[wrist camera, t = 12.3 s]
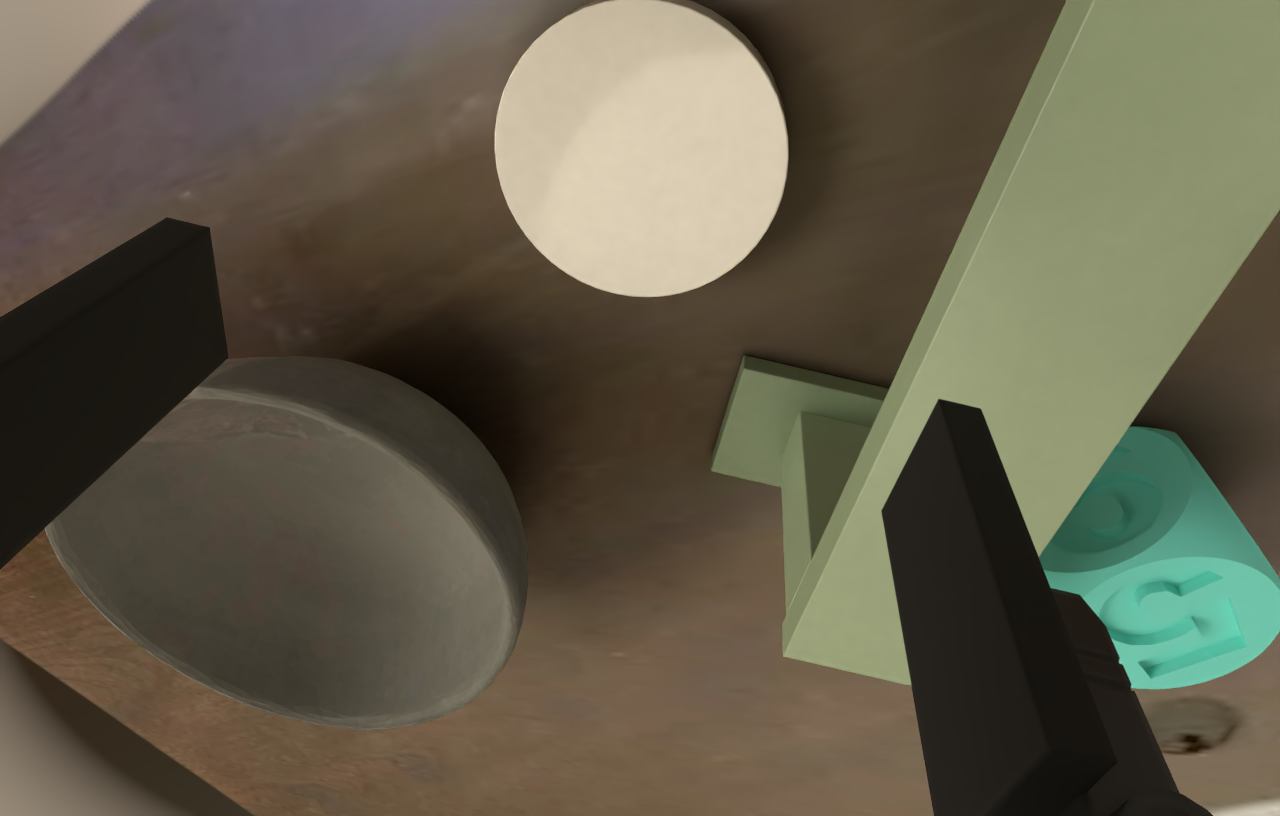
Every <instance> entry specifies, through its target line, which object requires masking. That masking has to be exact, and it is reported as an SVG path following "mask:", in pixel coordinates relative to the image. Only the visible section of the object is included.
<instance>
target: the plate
mask: <svg viewBox="0 0 1280 816" xmlns="http://www.w3.org/2000/svg"><path fill="white" fill-rule="evenodd" d="M495 157H496V166H497V172H498V176H499V180H500V184H501V188H502V191H503V193H504V196H505V199H506V201H507V204H508V206H509V208H510V210H511V212H512V214H513V216H514V218H515V220H516V222H517V223H518V225H519V226H520V228H521V229H522V231H523V232H524V233H525V235H526V236H527V238H528V239H529V240H530V241H531V242H532V243H533V245H534V246H535V247H536V248H537V249H538V250H539V251H540V252H541V253H542V254H543V255H544V256H545V257H546V258H547V259H548V260H549V261H550V262H552V263H553V264H554V265H556V266H557V267H558V268H560V269H561V270H562V271H564V272H565V273H567V274H568V275H570V276H572V277H574V278H576V279H577V280H579V281H581V282H583V283H585V284H588V285H590V286H593V287H595V288H597V289H601V290H604V291H607V292H611V293H614V294H620V295H626V296H634V297H658V296H668V295H673V294H678V293H683V292H686V291H689V290H692V289H695V288H698V287H701V286H703V285H705V284H707V283H709V282H712V281H714V280H716V279H717V278H719V277H720V276H722V275H724V274H725V273H727V272H728V271H730V270H731V269H732V268H734V267H735V266H736V265H737V264H738V263H740V262H741V261H742V260H743V259H744V258H745V257H746V256H747V255H748V254H749V253H750V252H751V251H752V250H753V249H754V248H755V246H756V245H757V244H758V243H759V241H760V240H761V238H762V237H763V236H764V234H765V233H766V231H767V230H768V228H769V226H770V224H771V222H772V220H773V219H774V217H775V215H776V213H777V210H778V207H779V205H780V202H781V199H782V196H783V193H784V188H785V184H786V179H787V172H788V162H789V146H788V131H787V123H786V117H785V111H784V106H783V102H782V99H781V96H780V93H779V89H778V86H777V84H776V82H775V80H774V78H773V76H772V73H771V71H770V69H769V67H768V66H767V64H766V63H765V61H764V59H763V58H762V56H761V55H760V53H759V52H758V50H757V49H756V48H755V47H754V46H753V44H752V43H751V42H750V41H749V40H748V39H747V37H746V36H745V35H744V34H743V33H742V32H740V31H739V30H738V29H737V28H736V27H735V26H734V25H733V24H731V23H730V22H729V21H728V20H726V19H725V18H723V17H722V16H720V15H719V14H717V13H716V12H714V11H713V10H711V9H709V8H706V7H704V6H702V5H700V4H698V3H696V2H694V1H691V0H594V1H592V2H590V3H588V4H586V5H584V6H582V7H579V8H577V9H575V10H574V11H572V12H571V13H569V14H568V15H566V16H565V17H563V18H562V19H560V20H559V21H558V22H556V23H555V24H554V25H552V26H551V27H549V28H548V29H547V30H546V31H545V32H544V33H543V34H542V35H541V36H540V37H538V38H537V39H536V40H535V41H534V42H533V43H532V45H531V46H530V47H529V48H528V49H527V51H526V52H525V53H524V54H523V55H522V57H521V58H520V60H519V62H518V63H517V65H516V66H515V68H514V70H513V71H512V73H511V75H510V77H509V79H508V82H507V84H506V86H505V89H504V91H503V94H502V97H501V101H500V105H499V108H498V112H497V119H496V126H495Z"/></svg>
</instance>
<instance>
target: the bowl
mask: <svg viewBox="0 0 1280 816" xmlns="http://www.w3.org/2000/svg"><path fill="white" fill-rule="evenodd" d="M45 531H46V534H47V536H48V539H49V541H50V543H51V545H52V547H53V549H54V551H55V553H56V555H57V557H58V559H59V561H60V563H61V564H62V566H63V567H64V569H65V570H66V572H67V573H68V575H69V576H70V577H71V579H72V580H73V581H74V583H75V584H76V585H77V587H78V588H79V589H80V591H81V592H82V593H83V594H84V595H85V596H86V598H87V599H88V600H89V601H90V602H91V603H92V604H93V605H94V606H95V608H96V609H97V610H98V611H99V612H100V613H101V614H102V615H103V616H104V617H105V618H106V619H107V620H108V621H109V622H110V623H112V624H113V625H114V626H115V627H116V628H117V629H118V630H120V631H121V632H122V633H123V634H124V635H125V636H127V637H128V638H130V639H131V640H133V641H134V642H135V643H137V644H138V645H140V646H141V647H142V648H144V649H145V650H146V651H147V652H149V653H150V654H151V655H152V656H154V657H155V658H157V659H158V660H160V661H161V662H163V663H164V664H166V665H168V666H169V667H171V668H173V669H174V670H176V671H178V672H179V673H181V674H183V675H185V676H186V677H188V678H190V679H192V680H194V681H196V682H197V683H199V684H201V685H203V686H205V687H207V688H209V689H211V690H214V691H216V692H218V693H220V694H222V695H224V696H227V697H229V698H231V699H233V700H236V701H238V702H240V703H243V704H246V705H249V706H251V707H254V708H257V709H260V710H262V711H266V712H269V713H272V714H276V715H279V716H282V717H286V718H290V719H294V720H298V721H302V722H307V723H312V724H317V725H324V726H331V727H338V728H346V729H356V730H379V729H389V728H400V727H405V726H411V725H416V724H421V723H425V722H428V721H431V720H435V719H438V718H440V717H443V716H445V715H448V714H450V713H452V712H454V711H456V710H458V709H460V708H461V707H463V706H465V705H467V704H468V703H470V702H472V701H473V700H474V699H475V698H476V697H478V696H479V695H480V694H481V693H483V692H484V691H485V690H486V689H487V687H488V686H489V685H490V684H491V683H492V682H493V681H494V680H495V678H496V677H497V676H498V674H499V673H500V672H501V670H502V669H503V667H504V666H505V664H506V662H507V661H508V659H509V657H510V655H511V654H512V651H513V649H514V647H515V644H516V641H517V638H518V635H519V631H520V628H521V625H522V620H523V615H524V610H525V605H526V597H527V587H528V554H527V545H526V539H525V534H524V529H523V524H522V519H521V516H520V513H519V510H518V507H517V504H516V501H515V499H514V496H513V493H512V491H511V488H510V486H509V484H508V482H507V480H506V478H505V476H504V474H503V472H502V471H501V469H500V467H499V465H498V464H497V462H496V461H495V459H494V458H493V457H492V455H491V454H490V453H489V451H488V450H487V449H486V447H485V446H484V445H483V443H482V442H481V441H480V440H479V439H478V438H477V437H476V435H475V434H474V433H473V432H472V431H471V430H470V429H469V428H468V427H467V426H466V425H465V424H464V423H463V422H462V421H461V420H459V419H458V418H457V417H456V416H455V415H454V414H452V413H451V412H450V411H449V410H447V409H446V408H445V407H443V406H442V405H441V404H439V403H438V402H437V401H435V400H434V399H432V398H431V397H429V396H428V395H426V394H425V393H423V392H421V391H419V390H418V389H416V388H414V387H412V386H410V385H408V384H407V383H405V382H403V381H401V380H399V379H397V378H395V377H392V376H390V375H388V374H386V373H383V372H380V371H377V370H374V369H371V368H368V367H365V366H362V365H359V364H355V363H352V362H348V361H344V360H339V359H334V358H323V357H310V356H274V357H246V358H235V359H227V360H225V361H224V362H223V363H222V364H221V365H220V366H219V367H218V368H217V369H216V370H215V371H214V372H213V373H211V374H210V375H209V376H208V377H207V378H206V379H205V380H204V381H203V382H202V383H201V384H200V385H199V386H197V387H196V388H195V389H194V390H193V391H192V392H191V393H190V394H189V395H188V396H187V397H186V398H184V399H183V400H182V401H181V402H180V403H179V404H178V405H177V406H176V407H175V408H174V409H173V410H172V411H170V412H169V413H168V414H167V415H166V416H165V417H164V418H163V419H162V420H161V421H160V422H159V423H158V424H156V425H155V426H154V427H153V428H152V429H151V430H150V431H149V432H148V433H147V434H146V435H145V436H144V437H142V438H141V439H140V440H139V441H138V442H137V443H136V444H135V445H134V446H133V447H132V448H131V449H129V450H128V451H127V452H126V453H125V454H124V455H123V456H122V457H121V458H120V459H119V460H118V461H117V462H115V463H114V464H113V465H112V466H111V467H110V468H109V469H108V470H107V471H106V472H105V473H104V474H103V475H101V476H100V477H99V478H98V479H97V480H96V481H95V482H94V483H93V484H92V485H91V486H90V487H89V488H87V489H86V490H85V491H84V492H83V493H82V494H81V495H80V496H79V497H78V498H77V499H76V500H74V501H73V502H72V503H71V504H70V505H69V506H68V507H67V508H66V509H65V510H64V511H63V512H62V513H60V514H59V515H58V516H57V517H56V518H55V519H54V520H53V521H52V522H51V523H50V524H49V525H48V526H46V527H45Z"/></svg>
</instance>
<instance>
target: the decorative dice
mask: <svg viewBox="0 0 1280 816" xmlns="http://www.w3.org/2000/svg"><path fill="white" fill-rule="evenodd" d="M1039 559H1040V562H1041V565H1042V567H1043V570H1044V572H1045V575H1046V578H1047V580H1048V583H1049V585H1050V588H1053V589H1058V590H1062V591H1066V592H1070V593H1075V594H1079V595H1080V596H1081V597H1082V598H1083V599H1084V600H1085V602H1086V603H1087V604H1088V605H1089V606H1090V608H1091V609H1092V610H1093V611H1094V612H1095V614H1096V615H1097V616H1098V617H1099V618H1100V620H1101V621H1102V622H1103V623H1104V624H1105V626H1106V627H1107V630H1108V632H1109V634H1110V637H1111V639H1112V641H1113V643H1114V646H1115V648H1116V650H1117V652H1118V655H1119V657H1120V659H1119V664H1123V666H1124V668H1125V671H1126V673H1127V675H1128V677H1129V680H1130V682H1131V684H1132V685H1131V688H1139V689H1168V688H1178V687H1184V686H1190V685H1194V684H1198V683H1202V682H1206V681H1209V680H1212V679H1215V678H1218V677H1221V676H1223V675H1225V674H1228V673H1230V672H1232V671H1234V670H1236V669H1238V668H1240V667H1242V666H1243V665H1245V664H1247V663H1248V662H1250V661H1251V660H1253V659H1254V658H1255V657H1257V656H1258V655H1259V654H1260V653H1262V652H1263V651H1264V650H1265V649H1266V648H1267V647H1268V646H1269V645H1270V644H1271V642H1272V641H1273V640H1274V639H1275V637H1276V636H1277V634H1278V633H1279V632H1280V578H1279V577H1278V575H1277V574H1276V572H1275V571H1274V569H1273V568H1272V566H1271V565H1270V563H1269V562H1268V560H1267V559H1266V557H1265V556H1264V554H1263V553H1262V551H1261V550H1260V548H1259V547H1258V546H1257V544H1256V543H1255V541H1254V540H1253V538H1252V537H1251V535H1250V534H1249V533H1248V531H1247V530H1246V528H1245V527H1244V525H1243V524H1242V522H1241V521H1240V520H1239V518H1238V517H1237V515H1236V514H1235V512H1234V511H1233V510H1232V508H1231V507H1230V505H1229V504H1228V503H1227V501H1226V500H1225V498H1224V497H1223V495H1222V494H1221V493H1220V491H1219V490H1218V488H1217V487H1216V486H1215V484H1214V483H1213V482H1212V480H1211V479H1210V477H1209V476H1208V475H1207V473H1206V472H1205V470H1204V469H1203V468H1202V466H1201V465H1200V464H1199V462H1198V461H1197V460H1196V458H1195V457H1194V455H1193V454H1192V453H1191V451H1190V450H1189V449H1188V447H1187V446H1186V445H1185V444H1184V442H1183V441H1182V440H1181V438H1180V437H1179V436H1178V435H1177V434H1176V433H1175V432H1172V431H1167V430H1162V429H1157V428H1148V427H1135V426H1129V428H1128V429H1127V431H1126V432H1125V434H1124V435H1123V436H1122V438H1121V439H1120V441H1119V442H1118V444H1117V445H1116V447H1115V448H1114V449H1113V451H1112V452H1111V454H1110V455H1109V457H1108V458H1107V460H1106V461H1105V462H1104V464H1103V465H1102V467H1101V468H1100V470H1099V471H1098V473H1097V474H1096V475H1095V477H1094V478H1093V480H1092V481H1091V483H1090V484H1089V485H1088V487H1087V488H1086V490H1085V491H1084V493H1083V494H1082V496H1081V497H1080V498H1079V500H1078V501H1077V503H1076V504H1075V506H1074V507H1073V509H1072V510H1071V511H1070V513H1069V514H1068V516H1067V517H1066V519H1065V520H1064V522H1063V523H1062V524H1061V526H1060V527H1059V529H1058V530H1057V532H1056V533H1055V534H1054V536H1053V537H1052V539H1051V540H1050V542H1049V543H1048V545H1047V546H1046V547H1045V549H1044V550H1043V552H1042V553H1041V555H1040V556H1039Z"/></svg>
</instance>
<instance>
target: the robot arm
mask: <svg viewBox="0 0 1280 816" xmlns="http://www.w3.org/2000/svg"><path fill="white" fill-rule="evenodd" d="M227 359H228V352H227V345H226V338H225V332H224V325H223V318H222V311H221V304H220V297H219V290H218V283H217V276H216V269H215V262H214V255H213V248H212V241H211V235H210V228H209V227H205V226H200V225H196V224H192V223H188V222H183V221H179V220H175V219H171V218H165V219H164V220H162V221H160V222H159V223H157V224H155V225H154V226H152V227H150V228H149V229H147V230H145V231H144V232H142V233H140V234H139V235H137V236H135V237H134V238H132V239H130V240H129V241H127V242H125V243H124V244H122V245H120V246H119V247H117V248H115V249H114V250H112V251H110V252H109V253H107V254H105V255H104V256H102V257H100V258H99V259H97V260H95V261H94V262H92V263H90V264H89V265H87V266H85V267H84V268H82V269H80V270H79V271H77V272H75V273H74V274H72V275H70V276H69V277H67V278H65V279H64V280H62V281H60V282H59V283H57V284H55V285H54V286H52V287H50V288H49V289H47V290H45V291H44V292H42V293H40V294H39V295H37V296H35V297H34V298H32V299H30V300H29V301H27V302H25V303H24V304H22V305H20V306H19V307H17V308H15V309H14V310H12V311H10V312H9V313H7V314H5V315H4V316H2V317H0V569H1V568H2V567H3V566H4V565H5V564H7V563H8V562H9V561H10V560H11V559H12V558H13V557H14V556H15V555H16V554H17V553H18V552H19V551H21V550H22V549H23V548H24V547H25V546H26V545H27V544H28V543H29V542H30V541H31V540H32V539H34V538H35V537H36V536H37V535H38V534H39V533H40V532H41V531H42V530H43V529H44V528H45V527H46V526H48V525H49V524H50V523H51V522H52V521H53V520H54V519H55V518H56V517H57V516H58V515H59V514H60V513H62V512H63V511H64V510H65V509H66V508H67V507H68V506H69V505H70V504H71V503H72V502H73V501H74V500H76V499H77V498H78V497H79V496H80V495H81V494H82V493H83V492H84V491H85V490H86V489H87V488H89V487H90V486H91V485H92V484H93V483H94V482H95V481H96V480H97V479H98V478H99V477H100V476H101V475H103V474H104V473H105V472H106V471H107V470H108V469H109V468H110V467H111V466H112V465H113V464H114V463H115V462H117V461H118V460H119V459H120V458H121V457H122V456H123V455H124V454H125V453H126V452H127V451H128V450H129V449H131V448H132V447H133V446H134V445H135V444H136V443H137V442H138V441H139V440H140V439H141V438H142V437H144V436H145V435H146V434H147V433H148V432H149V431H150V430H151V429H152V428H153V427H154V426H155V425H156V424H158V423H159V422H160V421H161V420H162V419H163V418H164V417H165V416H166V415H167V414H168V413H169V412H170V411H172V410H173V409H174V408H175V407H176V406H177V405H178V404H179V403H180V402H181V401H182V400H183V399H184V398H186V397H187V396H188V395H189V394H190V393H191V392H192V391H193V390H194V389H195V388H196V387H197V386H199V385H200V384H201V383H202V382H203V381H204V380H205V379H206V378H207V377H208V376H209V375H210V374H211V373H213V372H214V371H215V370H216V369H217V368H218V367H219V366H220V365H221V364H222V363H223V362H224V361H225V360H227ZM881 512H882V518H883V524H884V530H885V535H886V541H887V547H888V553H889V559H890V564H891V570H892V576H893V582H894V587H895V593H896V599H897V605H898V610H899V616H900V622H901V628H902V633H903V639H904V645H905V651H906V657H907V662H908V668H909V674H910V680H911V685H912V691H913V697H914V703H915V708H916V714H917V720H918V726H919V731H920V737H921V743H922V749H923V754H924V760H925V766H926V772H927V778H928V783H929V789H930V795H931V801H932V806H933V812H934V816H1213V815H1212V814H1211V813H1210V812H1209V811H1208V810H1206V809H1205V808H1203V807H1202V806H1200V805H1198V804H1197V803H1195V802H1194V801H1192V800H1191V799H1189V798H1187V797H1186V796H1184V795H1182V794H1180V793H1179V791H1178V789H1177V787H1176V784H1175V782H1174V780H1173V778H1172V775H1171V773H1170V771H1169V768H1168V766H1167V764H1166V762H1165V759H1164V757H1163V755H1162V752H1161V750H1160V748H1159V746H1158V743H1157V741H1156V739H1155V737H1154V734H1153V732H1152V730H1151V727H1150V725H1149V723H1148V721H1147V718H1146V716H1145V714H1144V712H1143V709H1142V707H1141V705H1140V702H1139V700H1138V698H1137V696H1136V693H1135V691H1131V685H1132V684H1131V682H1130V680H1129V677H1128V675H1127V673H1126V671H1125V668H1124V666H1123V664H1119V659H1120V657H1119V655H1118V652H1117V650H1116V648H1115V646H1114V643H1113V641H1112V639H1111V637H1110V634H1109V632H1108V630H1107V627H1106V626H1105V624H1104V623H1103V622H1102V621H1101V620H1100V618H1099V617H1098V616H1097V615H1096V614H1095V612H1094V611H1093V610H1092V609H1091V608H1090V606H1089V605H1088V604H1087V603H1086V602H1085V600H1084V599H1083V598H1082V597H1081V596H1080V595H1079V594H1075V593H1070V592H1066V591H1062V590H1058V589H1053V588H1050V585H1049V583H1048V580H1047V578H1046V575H1045V572H1044V570H1043V567H1042V565H1041V562H1040V559H1039V557H1038V554H1037V552H1036V549H1035V547H1034V544H1033V541H1032V539H1031V536H1030V534H1029V531H1028V528H1027V526H1026V523H1025V521H1024V518H1023V516H1022V513H1021V510H1020V508H1019V505H1018V503H1017V500H1016V497H1015V495H1014V492H1013V490H1012V487H1011V485H1010V482H1009V479H1008V477H1007V474H1006V472H1005V469H1004V466H1003V464H1002V461H1001V459H1000V456H999V454H998V451H997V448H996V446H995V443H994V441H993V438H992V435H991V433H990V430H989V428H988V425H987V423H986V420H985V417H984V415H983V412H982V410H981V408H977V407H972V406H968V405H964V404H959V403H955V402H951V401H947V400H942V399H938V401H937V403H936V405H935V407H934V409H933V411H932V413H931V414H930V416H929V418H928V420H927V422H926V424H925V426H924V428H923V430H922V432H921V434H920V436H919V438H918V440H917V442H916V444H915V446H914V448H913V450H912V452H911V454H910V456H909V458H908V459H907V461H906V463H905V465H904V467H903V469H902V471H901V473H900V475H899V477H898V479H897V481H896V483H895V485H894V487H893V489H892V491H891V493H890V495H889V497H888V499H887V501H886V502H885V504H884V506H883V508H882V510H881Z"/></svg>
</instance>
